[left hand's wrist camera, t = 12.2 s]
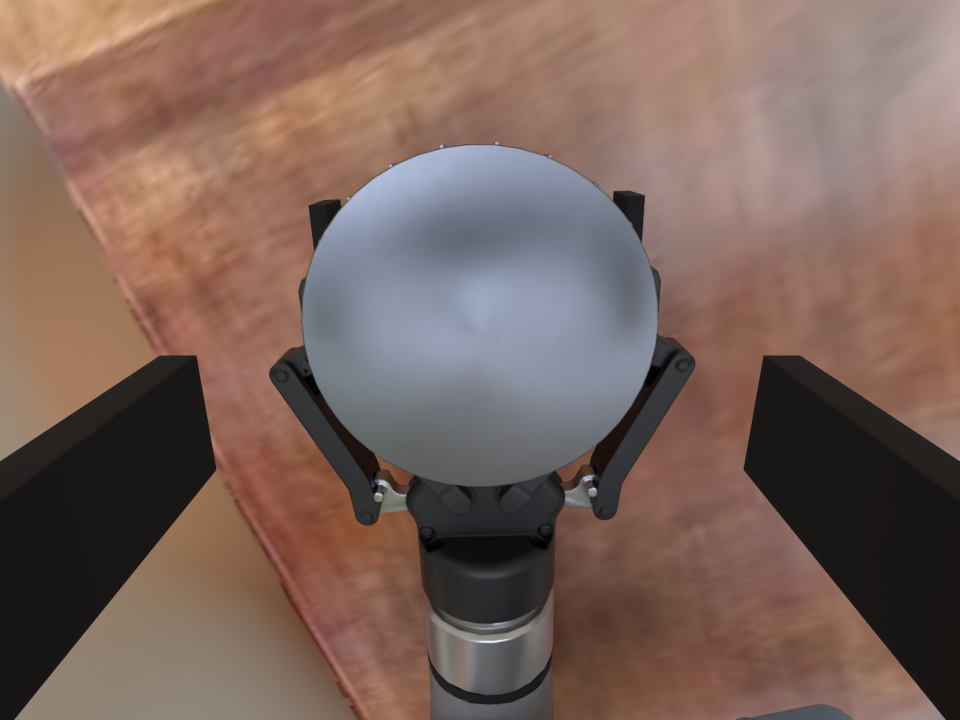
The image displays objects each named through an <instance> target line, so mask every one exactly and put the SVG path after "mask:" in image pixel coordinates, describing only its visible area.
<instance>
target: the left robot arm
mask: <svg viewBox="0 0 960 720" xmlns="http://www.w3.org/2000/svg"><path fill="white" fill-rule="evenodd" d="M215 471H216V464H215V459H214V453H213V447H212V442H211V436H210V430H209V425H208V419H207V413H206V408H205V402H204V396H203V391H202V385H201V379H200V373H199V368H198V362H197V356H159V357H157V358H156V359H154V360H153V361H151V362H150V363H148V364H147V365H145V366H144V367H142V368H141V369H139V370H138V371H136V372H135V373H133V374H132V375H130V376H129V377H127V378H125V379H124V380H122V381H121V382H119V383H118V384H116V385H115V386H113V387H112V388H110V389H109V390H107V391H106V392H104V393H103V394H101V395H100V396H98V397H97V398H95V399H94V400H92V401H91V402H89V403H88V404H86V405H85V406H83V407H82V408H80V409H79V410H77V411H76V412H74V413H73V414H71V415H70V416H68V417H67V418H65V419H63V420H62V421H60V422H59V423H57V424H56V425H54V426H53V427H51V428H50V429H48V430H47V431H45V432H44V433H42V434H41V435H39V436H38V437H36V438H35V439H33V440H32V441H30V442H29V443H27V444H26V445H24V446H23V447H21V448H20V449H18V450H17V451H15V452H14V453H12V454H11V455H9V456H8V457H6V458H5V459H3V460H2V461H0V720H14V719H15V718H16V717H17V716H18V714H19V713H20V712H21V711H22V709H23V708H24V707H25V706H26V704H27V703H28V702H29V701H30V700H31V698H32V697H33V696H34V695H35V693H36V692H37V691H38V690H39V688H40V687H41V686H42V685H43V683H44V682H45V681H46V680H47V679H48V677H49V676H50V675H51V674H52V672H53V671H54V670H55V669H56V667H57V666H58V665H59V664H60V662H61V661H62V660H63V659H64V658H65V656H66V655H67V654H68V653H69V651H70V650H71V649H72V648H73V646H74V645H75V644H76V643H77V641H78V640H79V639H80V638H81V637H82V635H83V634H84V633H85V632H86V630H87V629H88V628H89V627H90V625H91V624H92V623H93V622H94V620H95V619H96V618H97V617H98V615H99V614H100V613H101V612H102V610H103V609H104V608H105V607H106V606H107V604H108V603H109V602H110V601H111V599H112V598H113V597H114V596H115V594H116V593H117V592H118V591H119V590H120V588H121V587H122V586H123V585H124V583H125V582H126V581H127V580H128V578H129V577H130V576H131V575H132V573H133V572H134V571H135V570H136V569H137V567H138V566H139V565H140V564H141V562H142V561H143V560H144V559H145V557H146V556H147V555H148V554H149V552H150V551H151V550H152V549H153V548H154V546H155V545H156V544H157V543H158V541H159V540H160V539H161V538H162V536H163V535H164V534H165V533H166V531H167V530H168V529H169V528H170V527H171V525H172V524H173V523H174V522H175V520H176V519H177V518H178V517H179V515H180V514H181V513H182V512H183V510H184V509H185V508H186V507H187V505H188V504H189V503H190V502H191V501H192V499H193V498H194V497H195V496H196V494H197V493H198V492H199V491H200V489H201V488H202V487H203V486H204V484H205V483H206V482H207V481H208V480H209V478H210V477H211V476H212V475H213V473H214V472H215ZM744 471H745V472H746V473H747V475H748V476H749V477H750V478H751V480H752V481H753V482H754V483H755V485H756V486H757V487H758V488H759V489H760V491H761V492H762V493H763V494H764V496H765V497H766V498H767V499H768V501H769V502H770V503H771V504H772V506H773V507H774V508H775V509H776V510H777V512H778V513H779V514H780V515H781V517H782V518H783V519H784V520H785V522H786V523H787V524H788V525H789V527H790V528H791V529H792V530H793V531H794V533H795V534H796V535H797V536H798V538H799V539H800V540H801V541H802V543H803V544H804V545H805V546H806V548H807V549H808V550H809V551H810V552H811V554H812V555H813V556H814V557H815V559H816V560H817V561H818V562H819V564H820V565H821V566H822V567H823V569H824V570H825V571H826V572H827V573H828V575H829V576H830V577H831V578H832V580H833V581H834V582H835V583H836V585H837V586H838V587H839V588H840V590H841V591H842V592H843V593H844V595H845V596H846V597H847V598H848V599H849V601H850V602H851V603H852V604H853V606H854V607H855V608H856V609H857V611H858V612H859V613H860V614H861V616H862V617H863V618H864V619H865V620H866V622H867V623H868V624H869V625H870V627H871V628H872V629H873V630H874V632H875V633H876V634H877V635H878V637H879V638H880V639H881V640H882V641H883V643H884V644H885V645H886V646H887V648H888V649H889V650H890V651H891V653H892V654H893V655H894V656H895V658H896V659H897V660H898V661H899V662H900V664H901V665H902V666H903V667H904V669H905V670H906V671H907V672H908V674H909V675H910V676H911V677H912V679H913V680H914V681H915V682H916V683H917V685H918V686H919V687H920V688H921V690H922V691H923V692H924V693H925V695H926V696H927V697H928V698H929V700H930V701H931V702H932V703H933V705H934V706H935V707H936V708H937V709H938V711H939V712H940V713H941V714H942V716H943V717H944V718H945V719H946V720H960V461H959V460H957V459H955V458H954V457H952V456H951V455H949V454H948V453H946V452H945V451H943V450H942V449H940V448H939V447H937V446H936V445H934V444H933V443H931V442H930V441H928V440H927V439H925V438H924V437H922V436H921V435H919V434H918V433H916V432H915V431H913V430H912V429H910V428H909V427H907V426H906V425H904V424H903V423H901V422H900V421H898V420H897V419H895V418H894V417H892V416H890V415H889V414H887V413H886V412H884V411H883V410H881V409H880V408H878V407H877V406H875V405H874V404H872V403H871V402H869V401H868V400H866V399H865V398H863V397H862V396H860V395H859V394H857V393H856V392H854V391H853V390H851V389H850V388H848V387H847V386H845V385H844V384H842V383H841V382H839V381H838V380H836V379H835V378H833V377H832V376H830V375H828V374H827V373H825V372H824V371H822V370H821V369H819V368H818V367H816V366H815V365H813V364H812V363H810V362H809V361H807V360H806V359H804V358H803V357H801V356H763V362H762V368H761V373H760V379H759V385H758V391H757V396H756V402H755V408H754V413H753V419H752V425H751V430H750V436H749V442H748V447H747V453H746V459H745V464H744Z"/></svg>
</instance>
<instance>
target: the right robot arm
mask: <svg viewBox="0 0 960 720" xmlns="http://www.w3.org/2000/svg"><path fill="white" fill-rule="evenodd" d="M644 201H645V195H642V194H638V193H635V192H632V191H614V195H613V202H614V203H615V204H616V205H617V207H618V208H619V209H620V210H621V211H622V212H623V213H624V215H625V216H626V218H627V219H628V221H630V222H631V223H632V227H633V228H634V230H635V231H636V233H637V234H638V237H639V239H640V241H641V243H642V232H643V216H644ZM340 209H341V203H340V200H323V201H320V202H317V203H315V204H312V205H309V213H310V221H311V229H312V236H313V244H314V251H315V249H316V247H317V245H318V241H319V240H320V239H321V237H322V235H323V233H324V231H325V230H326V228H327V227H328V225H329V224H330V222H331V221H332V219H333V218H334V216H335V215H336V213H337V212H338V211H339V210H340ZM651 269H652V272H653V275H654V279H655V286H656V292H657V298H658V312H659V299H660V286H661V280H660V277H659V274H658V271H657V270H656V269H655V268H653V267H652V266H651ZM305 280H306V277H305V278H304V279H303V280H301V284H300V287H299V291H298V292H299V299H300V306H301V311H302V297H303V291H304V286H305ZM694 368H695V360H694V358H693V356H692V355H691V354H690V353H689V352H688V351H687V350H686V349H685V348H684V347H683V346H682V345H681V344H680V343H679V342H678V341H677V340H675V339H674V338H670V337H668V338H665V337H662V336H659V335H658V334H657V339H656V346H655V350H654V354H653V358H652V362H651V366H650V369H649V371H648V374H647V376H646V379H645V381H644V384H643V386H642V388H641V390H640V392H639V394H638V395H637V397H636V399H635V401H634V402H633V404H632V406H631V407H630V409H629V410H628V411H627V413H626V414H625V415H624V417H623V418H622V419H621V421H620V422H619V423H618V425H617V426H616V427H615V428H614V429H613V430H612V431H611V432H610V433H609V434H608V435H607V436H606V437H605V438H604V439H603V440H602V441H601V442H599V443H598V444H597V446H596V448H595V450H594V452H593V454H592V457H591V460H590V464H589V465H587V464H585V465H582V466H581V467H580V469H579V471H578V472H577V474H576V476H575V477H574V478H573V479H572V480H570V481H567V482H562V480H561V478H560V476H559V475H558V474H557V472H556V471H553V472H551V473H549V474H546V475H543V476H540V477H537V478H534V479H531V480H527V481H523V482H518V483H514V484H508V485H499V486H489V487H483V486H461V485H453V484H446V483H442V482H437V481H433V480H429V479H425V478H423V477H420V476H417V475H414V476H413V477H412V479H411V480H410V482H409V485H400V484H398V483H397V482H396V481H395V480H394V478H393V476H392V475H391V474H390V472H389V470H387V469H383V470H381V469H380V466H379V463H378V461H377V459H376V456H375V455H374V453H373V452H372V451H370V450H369V449H368V448H367V447H365V446H364V445H363V444H362V443H361V442H360V441H358V440H357V439H356V438H355V437H354V436H353V435H352V434H351V433H350V432H349V431H348V430H347V429H346V428H345V427H344V425H343V424H342V423H341V422H340V421H339V420H338V418H337V417H336V416H335V414H334V413H333V411H332V410H331V409H330V407H329V406H328V404H327V403H326V401H325V399H324V397H323V395H322V393H321V392H320V390H319V388H318V386H317V384H316V381H315V379H314V376H313V374H312V371H311V368H310V366H309V363H308V358H307V354H306V350H305V346H304V345H303V346H300V347H298V348H295V347H294V348H291V349H289V350H288V351H287V352H286V353H285V354H284V355H283V356H282V357H281V358H280V359H279V360H278V361H277V362H276V363H275V364H274V366H273V367H272V368H271V369H270V372H269V377H270V379H271V381H272V383H273V384H274V385H275V387H276V388H277V390H278V391H279V393H280V394H281V395H282V397H283V398H284V400H285V401H286V402H287V404H288V405H289V407H290V408H291V409H292V411H293V412H294V414H295V415H296V416H297V418H298V419H299V421H300V422H301V423H302V425H303V426H304V428H305V429H306V431H307V432H308V433H309V435H310V436H311V438H312V439H313V440H314V442H315V443H316V445H317V446H318V447H319V449H320V450H321V452H322V453H323V454H324V456H325V457H326V459H327V460H328V461H329V463H330V464H331V466H332V467H333V469H334V470H335V471H336V473H337V474H338V476H339V477H340V478H341V480H342V481H343V483H344V484H345V485H346V487H347V488H348V490H349V493H350V497H351V501H352V505H353V508H354V512H355V516H356V519H357V521H358V522H359V523H361V524H363V525H372V524H374V523H376V522H377V520H378V517H379V514H380V513H388V512H397V511H405V510H408V511H409V512H410V514H411V515H412V516H413V518H414V519H415V521H416V524H417V528H418V539H419V552H420V564H421V577H422V586H423V589H424V593H423V604H424V615H425V625H426V636H427V646H428V648H427V651H428V658H429V665H430V690H431V720H554V718H553V705H552V662H551V660H552V646H553V624H554V588H553V583H554V559H555V522H556V518H557V516H558V514H559V512H560V511H561V510H562V508H563V507H575V508H589V509H593V512H594V514H595V516H596V517H597V518H598V519H601V520H608V519H611V518H612V517H613V516H614V515H615V514H616V512H617V507H618V502H619V496H620V491H621V486H622V483H623V481H624V480H625V478H626V476H627V475H628V473H629V472H630V470H631V468H632V467H633V465H634V464H635V462H636V461H637V459H638V457H639V456H640V454H641V453H642V451H643V449H644V448H645V446H646V445H647V443H648V442H649V440H650V438H651V437H652V435H653V434H654V432H655V430H656V429H657V427H658V426H659V424H660V422H661V421H662V419H663V418H664V416H665V415H666V413H667V411H668V410H669V408H670V407H671V405H672V403H673V402H674V400H675V399H676V397H677V395H678V394H679V392H680V391H681V389H682V388H683V386H684V384H685V383H686V381H687V380H688V378H689V376H690V375H691V373H692V372H693V370H694ZM737 720H853V719H852V718H851V717H850V716H849V715H847V714H846V713H844V712H843V711H841V710H839V709H837V708H835V707H832V706H829V705H820V704H817V705H810V706H806V707H801V708H796V709H791V710H786V711H781V712H777V713H772V714H767V715H762V716H757V717H752V718H748V717H742V718H739V719H737Z"/></svg>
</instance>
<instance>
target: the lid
mask: <svg viewBox="0 0 960 720" xmlns="http://www.w3.org/2000/svg"><path fill="white" fill-rule="evenodd" d="M388 166H389V168H388V169H387V170H385V171H384V172H382V173H380V174H379V175H377V176H375V177H374V178H372V179H371V180H370V181H369V182H368V183H366V184H365V185H364V186H363V187H362V188H360V189H359V190H358V191H357V192H355V193H354V194H353V195H352V196H350V197H348V198H347V202H346V203H345V204H344V205H343V206H342V207H341V209H340V210H339V211H338V212H337V213H336V215H335V216H334V218H333V219H332V221H331V222H330V224H329V225H328V227H327V228H326V230H325V231H324V233H323V235H322V237H321V239H320V240H319V241H318V245H317V247H316V249H315V251H314V253H313V256H312V259H311V263H310V266H309V269H308V272H307V275H306V280H305V286H304V291H303V297H302V330H303V340H304V346H305V350H306V354H307V358H308V363H309V366H310V368H311V371H312V374H313V376H314V379H315V381H316V384H317V386H318V388H319V390H320V392H321V393H322V395H323V397H324V399H325V401H326V403H327V404H328V406H329V407H330V409H331V410H332V411H333V413H334V414H335V416H336V417H337V418H338V420H339V421H340V422H341V423H342V424H343V425H344V427H345V428H346V429H347V430H348V431H349V432H350V433H351V434H352V435H353V436H354V437H355V438H356V439H357V440H358V441H360V442H361V443H362V444H363V445H364V446H365V447H367V448H368V449H369V450H370V451H372V452H373V453H375V454H376V455H378V456H379V457H381V458H382V459H384V460H385V461H387V462H389V463H390V464H392V465H394V466H396V467H398V468H400V469H402V470H404V471H406V472H409V473H412V474H414V475H417V476H420V477H423V478H425V479H429V480H433V481H437V482H442V483H446V484H453V485H461V486H483V487H489V486H499V485H508V484H514V483H518V482H523V481H527V480H531V479H534V478H537V477H540V476H543V475H546V474H549V473H551V472H553V471H555V470H557V469H559V468H562V467H564V466H566V465H568V464H570V463H571V462H573V461H574V460H576V459H578V458H579V457H581V456H582V455H584V454H585V453H587V452H588V451H590V450H591V449H592V448H593V447H594V446H596V445H597V444H598V443H599V442H601V441H602V440H603V439H604V438H605V437H606V436H607V435H608V434H609V433H610V432H611V431H612V430H613V429H614V428H615V427H616V426H617V425H618V423H619V422H620V421H621V419H622V418H623V417H624V415H625V414H626V413H627V411H628V410H629V409H630V407H631V406H632V404H633V402H634V401H635V399H636V397H637V395H638V394H639V392H640V390H641V388H642V386H643V384H644V381H645V379H646V376H647V374H648V371H649V369H650V366H651V362H652V358H653V354H654V350H655V346H656V339H657V331H658V298H657V292H656V286H655V279H654V275H653V272H652V269H651V266H650V262H649V259H648V256H647V254H646V252H645V249H644V247H643V245H642V243H641V241H640V239H639V237H638V234H637V233H636V231H635V230H634V228H633V227H632V223H631V222H630V221H628V219H627V218H626V216H625V215H624V213H623V212H622V211H621V210H620V209H619V208H618V207H617V205H616V204H615V203H614V202H613V201H612V200H611V199H610V197H609V196H608V195H607V194H605V193H604V192H603V191H602V190H601V189H600V188H598V187H597V186H598V184H597V183H596V182H593V181H590V180H589V179H587V178H586V177H584V176H583V175H581V174H580V173H578V172H576V171H575V170H573V169H572V168H570V167H569V166H567V165H564V164H562V163H560V162H558V161H556V160H554V159H552V155H550V154H544V155H541V154H538V153H535V152H531V151H528V150H525V149H521V148H515V147H509V146H502V145H499V142H496V141H495V142H494V144H466V145H459V146H451V147H446V145H440V149H436V150H432V151H429V152H425V153H421V154H418V155H416V156H413V157H411V158H409V159H407V160H404V161H402V162H400V163H398V162H397V163H393V164H390V165H388Z"/></svg>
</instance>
